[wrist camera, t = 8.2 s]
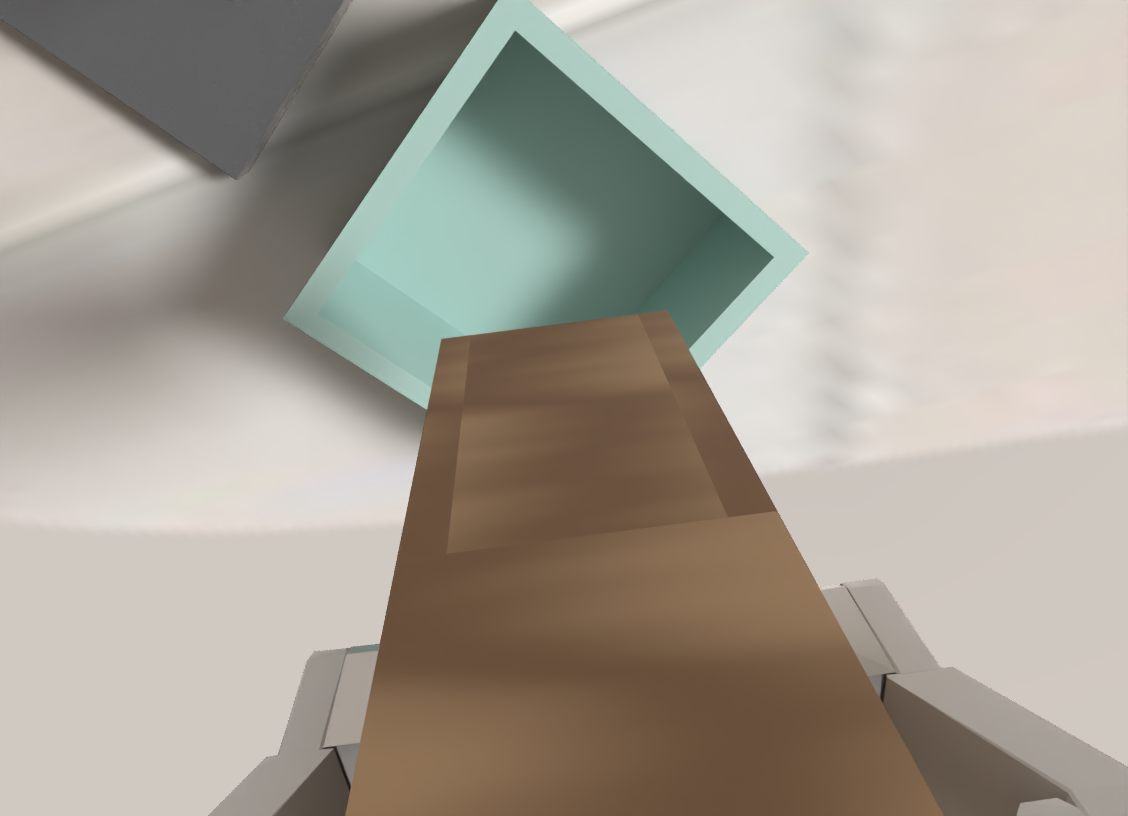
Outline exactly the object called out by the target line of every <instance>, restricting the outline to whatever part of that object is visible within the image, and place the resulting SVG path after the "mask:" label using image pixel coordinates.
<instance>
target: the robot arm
mask: <svg viewBox="0 0 1128 816" xmlns="http://www.w3.org/2000/svg"><path fill="white" fill-rule="evenodd" d="M819 588H820V590H821V592H822V594H823V595H824V597H825V599H826V601H827V603H828V605H829V606H830V608H831V610H832V612H833V614H834V616H835V617H836V619H837V621H838V623H839V625H840V626H841V628H842V630H843V632H844V634H845V636H846V637H847V639H848V641H849V643H850V645H851V647H852V648H853V650H854V652H855V654H856V656H857V658H858V659H859V661H860V663H861V665H862V667H863V669H864V670H865V672H866V674H867V676H868V678H869V679H870V681H871V683H872V685H873V687H874V689H875V690H876V692H877V694H878V696H879V698H880V700H881V701H882V703H883V705H884V707H885V709H886V711H887V712H888V714H889V716H890V718H891V720H892V721H893V723H894V725H895V727H896V729H897V731H898V732H899V734H900V736H901V738H902V740H903V742H904V743H905V745H906V747H907V749H908V751H909V753H910V754H911V756H912V758H913V760H914V762H915V764H916V765H917V767H918V769H919V771H920V773H921V774H922V776H923V778H924V780H925V782H926V784H927V785H928V787H929V789H930V791H931V793H932V795H933V796H934V798H935V800H936V802H937V804H938V806H939V807H940V809H941V811H942V813H943V815H944V816H1128V767H1127V766H1125V765H1124V764H1122V763H1120V762H1118V761H1117V760H1115V759H1113V758H1111V757H1110V756H1108V755H1106V754H1104V753H1103V752H1101V751H1099V750H1097V749H1095V748H1094V747H1092V746H1090V745H1089V744H1087V743H1085V742H1083V741H1082V740H1080V739H1078V738H1076V737H1074V736H1073V735H1071V734H1069V733H1067V732H1066V731H1064V730H1062V729H1060V728H1059V727H1057V726H1055V725H1053V724H1052V723H1050V722H1048V721H1046V720H1045V719H1043V718H1041V717H1040V716H1038V715H1036V714H1034V713H1033V712H1031V711H1029V710H1027V709H1026V708H1024V707H1022V706H1020V705H1018V704H1017V703H1015V702H1013V701H1012V700H1010V699H1008V698H1006V697H1005V696H1003V695H1001V694H999V693H998V692H996V691H994V690H992V689H991V688H989V687H987V686H985V685H984V684H982V683H980V682H978V681H977V680H975V679H973V678H971V677H969V676H968V675H966V674H964V673H963V672H961V671H959V670H957V669H956V668H954V667H947V668H941V667H940V665H939V664H938V663H937V661H936V660H935V658H934V656H933V655H932V654H931V652H930V651H929V649H928V648H927V646H926V645H925V643H924V642H923V640H922V639H921V637H920V636H919V634H918V633H917V631H916V630H915V628H914V627H913V625H912V624H911V622H910V621H909V619H908V618H907V616H906V615H905V613H904V612H903V610H902V609H901V607H900V606H899V605H898V603H897V601H896V600H895V599H894V597H893V596H892V594H891V593H890V591H889V590H888V588H887V587H886V585H885V584H884V583H883V582H882V581H880V580H878V579H870V580H863V581H856V582H849V583H842V584H840V585H830V586H823V587H819ZM379 646H380V644H375V645H365V646H355V647H351V648H346V649H336V650H325V651H315V652H314V653H313V654H312V655H311V656H310V658H309V659H308V660H307V662H306V665H305V669H304V672H303V675H302V678H301V682H300V685H299V689H298V691H297V695H296V698H295V701H294V704H293V708H292V711H291V714H290V717H289V720H288V724H287V727H286V730H285V734H284V737H283V740H282V743H281V746H280V750H279V753H278V755H276V756H270V757H266V758H265V759H264V760H263V761H262V762H261V763H260V764H259V765H258V766H257V767H256V768H255V769H254V770H253V771H252V772H251V773H250V774H249V775H248V776H247V777H246V778H245V779H244V780H243V781H242V782H241V783H240V784H239V785H238V786H237V787H236V788H235V789H234V790H233V791H232V792H231V793H230V794H229V795H228V796H227V797H226V798H225V799H224V800H223V801H222V802H221V803H220V804H219V806H217V807H216V808H215V809H214V810H213V811H212V813H210V814H209V815H208V816H345V814H346V809H347V804H348V799H349V794H350V789H351V785H352V780H353V775H354V770H355V765H356V760H357V755H358V750H359V745H360V740H361V735H362V730H363V725H364V720H365V715H366V710H367V705H368V700H369V695H370V690H371V685H372V680H373V675H374V670H375V665H376V661H377V656H378V651H379Z"/></svg>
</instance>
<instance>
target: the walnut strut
mask: <svg viewBox="0 0 1128 816" xmlns="http://www.w3.org/2000/svg"><path fill="white" fill-rule="evenodd" d="M345 816H944V815H943V813H942V811H941V809H940V807H939V806H938V804H937V802H936V800H935V798H934V796H933V795H932V793H931V791H930V789H929V787H928V785H927V784H926V782H925V780H924V778H923V776H922V774H921V773H920V771H919V769H918V767H917V765H916V764H915V762H914V760H913V758H912V756H911V754H910V753H909V751H908V749H907V747H906V745H905V743H904V742H903V740H902V738H901V736H900V734H899V732H898V731H897V729H896V727H895V725H894V723H893V721H892V720H891V718H890V716H889V714H888V712H887V711H886V709H885V707H884V705H883V703H882V701H881V700H880V698H879V696H878V694H877V692H876V690H875V689H874V687H873V685H872V683H871V681H870V679H869V678H868V676H867V674H866V672H865V670H864V669H863V667H862V665H861V663H860V661H859V659H858V658H857V656H856V654H855V652H854V650H853V648H852V647H851V645H850V643H849V641H848V639H847V637H846V636H845V634H844V632H843V630H842V628H841V626H840V625H839V623H838V621H837V619H836V617H835V616H834V614H833V612H832V610H831V608H830V606H829V605H828V603H827V601H826V599H825V597H824V595H823V594H822V592H821V590H820V588H819V586H818V584H817V583H816V581H815V579H814V578H813V576H812V574H811V572H810V570H809V568H808V566H807V564H806V563H805V561H804V559H803V557H802V555H801V553H800V552H799V550H798V548H797V546H796V544H795V542H794V541H793V539H792V537H791V535H790V533H789V532H788V530H787V528H786V526H785V525H784V522H783V521H782V519H781V517H780V515H779V513H778V511H777V510H776V508H775V506H774V505H773V502H772V500H771V499H770V497H769V495H768V493H767V491H766V489H765V488H764V486H763V484H762V482H761V480H760V479H759V477H758V475H757V473H756V471H755V469H754V468H753V466H752V464H751V462H750V460H749V458H748V457H747V455H746V453H745V451H744V449H743V447H742V446H741V444H740V442H739V440H738V438H737V436H736V435H735V433H734V431H733V429H732V427H731V426H730V424H729V422H728V420H727V418H726V416H725V415H724V413H723V411H722V409H721V407H720V405H719V404H718V402H717V400H716V398H715V396H714V394H713V393H712V391H711V389H710V387H709V385H708V384H707V382H706V380H705V378H704V376H703V374H702V373H701V371H700V369H699V367H698V365H697V363H696V362H695V360H694V358H693V356H692V354H691V352H690V351H689V349H688V347H687V345H686V343H685V341H684V340H683V338H682V336H681V334H680V332H679V331H678V329H677V327H676V325H675V323H674V321H673V320H672V318H671V316H670V314H669V312H668V310H666V311H658V312H650V313H642V314H634V315H626V316H618V317H610V318H602V319H594V320H586V321H578V322H571V323H563V324H555V325H547V326H539V327H531V328H523V329H515V330H507V331H499V332H491V333H483V334H475V335H468V336H460V337H452V338H444V339H441V343H440V348H439V353H438V358H437V363H436V368H435V373H434V378H433V383H432V388H431V393H430V398H429V403H428V408H427V412H426V417H425V422H424V427H423V432H422V437H421V442H420V447H419V452H418V457H417V462H416V467H415V472H414V477H413V482H412V487H411V492H410V497H409V502H408V507H407V512H406V517H405V522H404V527H403V532H402V537H401V542H400V546H399V551H398V556H397V561H396V566H395V571H394V576H393V581H392V586H391V591H390V596H389V601H388V606H387V611H386V616H385V621H384V626H383V631H382V636H381V641H380V646H379V651H378V656H377V661H376V665H375V670H374V675H373V680H372V685H371V690H370V695H369V700H368V705H367V710H366V715H365V720H364V725H363V730H362V735H361V740H360V745H359V750H358V755H357V760H356V765H355V770H354V775H353V780H352V785H351V789H350V794H349V799H348V804H347V809H346V814H345Z"/></svg>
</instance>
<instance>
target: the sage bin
mask: <svg viewBox="0 0 1128 816" xmlns="http://www.w3.org/2000/svg"><path fill="white" fill-rule="evenodd" d="M808 254H809V252H808V251H806V250H805V249H804V248H803V247H802V246H801V245H800V244H799V243H798V242H796V241H795V240H794V239H793V238H792V237H791V236H790V235H789V234H788V233H786V232H785V231H784V230H783V229H782V228H781V227H780V226H779V225H778V224H776V223H775V222H774V221H773V220H772V219H771V218H770V217H769V216H768V215H766V214H765V213H764V212H763V211H762V210H761V209H760V208H759V207H758V206H756V205H755V204H754V203H753V202H752V201H751V200H750V199H749V198H748V197H746V196H745V195H744V194H743V193H742V192H741V191H740V190H739V189H738V188H736V187H735V186H734V185H733V184H732V183H731V182H730V181H729V180H728V179H726V178H725V177H724V176H723V175H722V174H721V173H720V172H719V171H718V170H716V169H715V168H714V167H713V166H712V165H711V164H710V163H709V162H708V161H706V160H705V159H704V158H703V157H702V156H701V155H700V154H699V153H698V152H696V151H695V150H694V149H693V148H692V147H691V146H690V145H689V144H688V143H686V142H685V141H684V140H683V139H682V138H681V137H680V136H679V135H678V134H676V133H675V132H674V131H673V130H672V129H671V128H670V127H669V126H668V125H666V124H665V123H664V122H663V121H662V120H661V119H660V118H659V117H658V116H656V115H655V114H654V113H653V112H652V111H651V110H650V109H649V108H648V107H646V106H645V105H644V104H643V103H642V102H641V101H640V100H639V99H638V98H636V97H635V96H634V95H633V94H632V93H631V92H630V91H629V90H628V89H626V88H625V87H624V86H623V85H622V84H621V83H620V82H619V81H618V80H616V79H615V78H614V77H613V76H612V75H611V74H610V73H609V72H608V71H606V70H605V69H604V68H603V67H602V66H601V65H600V64H599V63H598V62H596V61H595V60H594V59H593V58H592V57H591V56H590V55H589V54H588V53H586V52H585V51H584V50H583V49H582V48H581V47H580V46H579V45H577V44H576V43H575V42H574V41H573V40H572V39H571V38H570V37H569V36H567V35H566V34H565V33H564V32H563V31H562V30H561V29H560V28H559V27H557V26H556V25H555V24H554V23H553V22H552V21H551V20H550V19H549V18H547V17H546V16H545V15H544V14H543V13H542V12H541V11H540V10H539V9H537V8H536V7H535V6H534V5H533V4H532V3H531V2H530V1H529V0H498V1H497V2H496V4H495V5H494V7H493V8H492V10H491V11H490V13H489V14H488V16H487V17H486V19H485V20H484V22H483V23H482V25H481V26H480V28H479V29H478V31H477V32H476V33H475V35H474V36H473V38H472V39H471V41H470V42H469V44H468V45H467V47H466V48H465V50H464V51H463V53H462V54H461V56H460V57H459V59H458V60H457V62H456V63H455V65H454V66H453V68H452V69H451V70H450V72H449V73H448V75H447V76H446V78H445V79H444V81H443V82H442V84H441V85H440V87H439V88H438V90H437V91H436V93H435V94H434V96H433V97H432V99H431V100H430V102H429V103H428V105H427V106H426V107H425V109H424V110H423V112H422V113H421V115H420V116H419V118H418V119H417V121H416V122H415V124H414V125H413V127H412V128H411V130H410V131H409V133H408V134H407V136H406V137H405V139H404V140H403V142H402V143H401V144H400V146H399V147H398V149H397V150H396V152H395V153H394V155H393V156H392V158H391V159H390V161H389V162H388V164H387V165H386V167H385V168H384V170H383V171H382V173H381V174H380V176H379V177H378V179H377V180H376V181H375V183H374V184H373V186H372V187H371V189H370V190H369V192H368V193H367V195H366V196H365V198H364V199H363V201H362V202H361V204H360V205H359V207H358V208H357V210H356V211H355V213H354V214H353V216H352V217H351V218H350V220H349V221H348V223H347V224H346V226H345V227H344V229H343V230H342V232H341V233H340V235H339V236H338V238H337V239H336V241H335V242H334V244H333V245H332V247H331V248H330V250H329V251H328V253H327V254H326V255H325V257H324V258H323V260H322V261H321V263H320V264H319V266H318V267H317V269H316V270H315V272H314V273H313V275H312V276H311V278H310V279H309V281H308V282H307V284H306V285H305V287H304V288H303V290H302V291H301V292H300V294H299V295H298V297H297V298H296V300H295V301H294V303H293V304H292V306H291V307H290V309H289V310H288V312H287V313H286V315H285V316H284V318H283V320H285V321H287V322H288V323H290V324H291V325H293V326H294V327H296V328H298V329H299V330H301V331H302V332H304V333H306V334H307V335H309V336H310V337H312V338H314V339H315V340H317V341H318V342H320V343H321V344H323V345H325V346H326V347H328V348H329V349H331V350H333V351H334V352H336V353H337V354H339V355H340V356H342V357H344V358H345V359H347V360H348V361H350V362H352V363H353V364H355V365H356V366H358V367H359V368H361V369H363V370H364V371H366V372H367V373H369V374H371V375H372V376H374V377H375V378H377V379H378V380H380V381H382V382H383V383H385V384H386V385H388V386H390V387H391V388H393V389H394V390H396V391H397V392H399V393H401V394H402V395H404V396H405V397H407V398H409V399H410V400H412V401H413V402H415V403H417V404H418V405H420V406H421V407H423V408H424V409H426V410H427V408H428V403H429V398H430V393H431V388H432V383H433V378H434V373H435V368H436V363H437V358H438V353H439V348H440V343H441V339H444V338H452V337H460V336H468V335H475V334H483V333H491V332H499V331H507V330H515V329H523V328H531V327H539V326H547V325H555V324H563V323H571V322H578V321H586V320H594V319H602V318H610V317H618V316H626V315H634V314H642V313H650V312H658V311H666V310H668V312H669V314H670V316H671V318H672V320H673V321H674V323H675V325H676V327H677V329H678V331H679V332H680V334H681V336H682V338H683V340H684V341H685V343H686V345H687V347H688V349H689V351H690V352H691V354H692V356H693V358H694V360H695V362H696V363H697V365H698V367H699V369H700V368H701V367H702V366H703V365H704V364H705V363H706V362H707V361H708V360H709V358H710V357H711V356H712V355H713V354H714V353H715V352H716V351H717V350H718V349H719V348H720V347H721V346H722V345H723V344H724V343H725V341H726V340H727V339H728V338H729V337H730V336H731V335H732V334H733V333H734V332H735V331H736V330H737V329H738V328H739V327H740V326H741V325H742V323H743V322H744V321H745V320H746V319H747V318H748V317H749V316H750V315H751V314H752V313H753V312H754V311H755V310H756V309H757V308H758V307H759V305H760V304H761V303H762V302H763V301H764V300H765V299H766V298H767V297H768V296H769V295H770V294H771V293H772V292H773V291H774V290H775V289H776V287H777V286H778V285H779V284H780V283H781V282H782V281H783V280H784V279H785V278H786V277H787V276H788V275H789V274H790V273H791V272H792V270H793V269H794V268H795V267H796V266H797V265H798V264H799V263H800V262H801V261H802V260H803V259H804V258H805V257H806V256H807V255H808Z"/></svg>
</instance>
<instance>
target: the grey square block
mask: <svg viewBox="0 0 1128 816" xmlns="http://www.w3.org/2000/svg"><path fill="white" fill-rule="evenodd" d="M351 2H352V0H0V19H2V20H3V21H5V22H6V23H8V24H9V25H11V26H12V27H14V28H15V29H16V30H18V31H19V32H21V33H22V34H24V35H25V36H27V37H28V38H30V39H31V40H33V41H34V42H35V43H37V44H38V45H40V46H41V47H43V48H44V49H46V50H47V51H49V52H50V53H52V54H53V55H54V56H56V57H57V58H59V59H60V60H62V61H63V62H65V63H66V64H68V65H69V66H71V67H72V68H73V69H75V70H76V71H78V72H79V73H81V74H82V75H84V76H85V77H87V78H88V79H90V80H91V81H92V82H94V83H95V84H97V85H98V86H100V87H101V88H103V89H104V90H106V91H107V92H109V93H110V94H111V95H113V96H114V97H116V98H117V99H119V100H120V101H122V102H123V103H125V104H126V105H127V106H129V107H130V108H132V109H133V110H135V111H136V112H138V113H139V114H141V115H142V116H144V117H145V118H146V119H148V120H149V121H151V122H152V123H154V124H155V125H157V126H158V127H160V128H161V129H163V130H164V131H165V132H167V133H168V134H170V135H171V136H173V137H174V138H176V139H177V140H179V141H180V142H182V143H183V144H184V145H186V146H187V147H189V148H190V149H192V150H193V151H195V152H196V153H198V154H199V155H201V156H202V157H203V158H205V159H206V160H208V161H209V162H211V163H212V164H214V165H215V166H217V167H218V168H220V169H221V170H222V171H224V172H225V173H227V174H228V175H230V176H231V177H233V178H234V179H236V180H237V179H238V178H240V177H241V176H243V175H245V174H246V173H248V172H249V170H250V169H251V167H252V165H253V164H254V162H255V160H256V159H257V157H258V156H259V154H260V152H261V151H262V149H263V147H264V146H265V144H266V142H267V141H268V139H269V137H270V136H271V134H272V132H273V131H274V129H275V127H276V126H277V124H278V122H279V121H280V119H281V118H282V116H283V114H284V113H285V111H286V109H287V108H288V106H289V104H290V103H291V101H292V99H293V98H294V96H295V94H296V93H297V91H298V89H299V88H300V86H301V84H302V83H303V81H304V79H305V78H306V76H307V75H308V73H309V71H310V70H311V68H312V66H313V65H314V63H315V61H316V60H317V58H318V56H319V55H320V53H321V51H322V50H323V48H324V46H325V45H326V43H327V41H328V40H329V38H330V36H331V35H332V33H333V32H334V30H335V28H336V27H337V25H338V23H339V22H340V20H341V18H342V17H343V15H344V13H345V12H346V10H347V8H348V7H349V5H350V3H351Z"/></svg>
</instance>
